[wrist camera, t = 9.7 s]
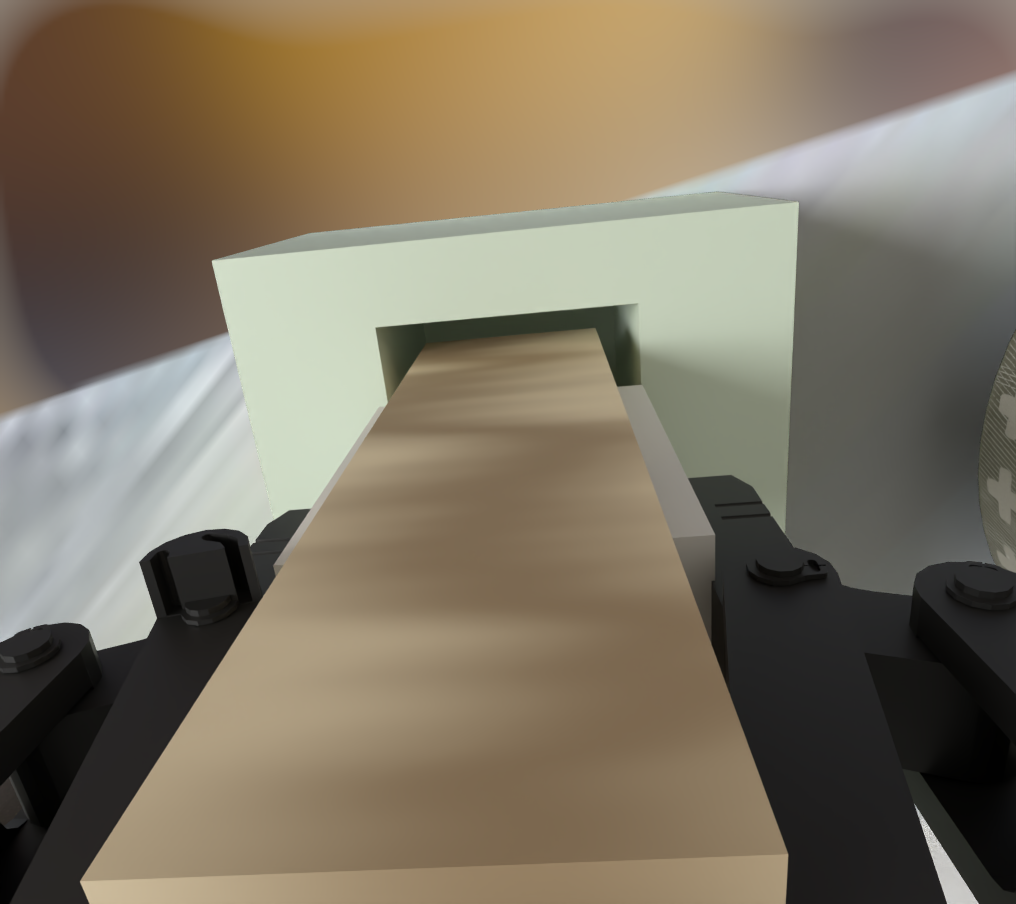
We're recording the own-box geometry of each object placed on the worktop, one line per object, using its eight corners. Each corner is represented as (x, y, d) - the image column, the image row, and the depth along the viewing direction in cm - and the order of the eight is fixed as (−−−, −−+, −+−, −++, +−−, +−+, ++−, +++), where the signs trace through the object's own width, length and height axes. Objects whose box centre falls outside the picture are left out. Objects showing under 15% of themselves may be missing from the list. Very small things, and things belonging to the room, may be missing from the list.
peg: (447, 496, 19) (238, 1254, 6) (426, 343, 17) (80, 881, 4) (604, 484, 18) (766, 1252, 5) (595, 328, 17) (788, 853, 4)
